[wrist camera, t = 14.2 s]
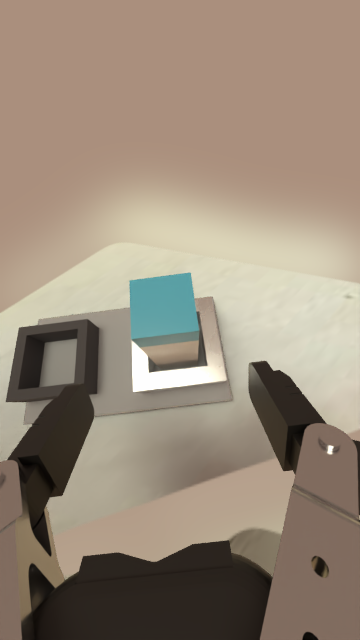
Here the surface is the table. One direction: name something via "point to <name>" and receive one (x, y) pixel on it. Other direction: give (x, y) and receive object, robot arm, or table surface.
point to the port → (189, 377)
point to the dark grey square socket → (31, 358)
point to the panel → (117, 370)
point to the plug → (165, 320)
